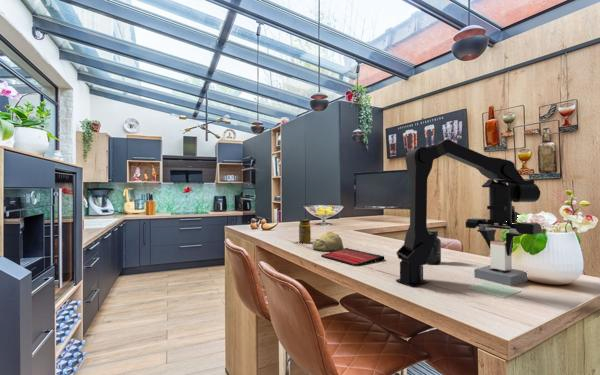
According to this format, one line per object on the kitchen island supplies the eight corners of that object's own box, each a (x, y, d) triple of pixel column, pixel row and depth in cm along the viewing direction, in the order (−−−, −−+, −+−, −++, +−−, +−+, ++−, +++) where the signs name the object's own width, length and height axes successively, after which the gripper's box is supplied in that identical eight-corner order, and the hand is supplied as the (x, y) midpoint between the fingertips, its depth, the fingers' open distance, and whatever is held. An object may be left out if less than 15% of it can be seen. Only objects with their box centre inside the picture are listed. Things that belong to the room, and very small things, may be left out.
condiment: (314, 242, 159) (313, 219, 159) (302, 244, 153) (302, 220, 153) (304, 240, 164) (304, 218, 164) (292, 243, 158) (292, 219, 159)
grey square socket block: (510, 287, 85) (510, 277, 85) (474, 279, 93) (474, 269, 93) (527, 281, 90) (527, 271, 90) (491, 274, 99) (491, 264, 99)
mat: (503, 300, 76) (503, 297, 76) (467, 289, 84) (467, 287, 84) (520, 293, 81) (520, 290, 81) (485, 284, 88) (485, 282, 88)
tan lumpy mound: (344, 247, 146) (344, 230, 146) (342, 252, 134) (341, 234, 134) (315, 246, 149) (315, 230, 149) (310, 251, 137) (310, 233, 137)
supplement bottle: (443, 265, 110) (442, 232, 110) (423, 264, 111) (422, 231, 111) (438, 260, 117) (438, 229, 117) (419, 260, 118) (419, 229, 118)
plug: (505, 270, 89) (504, 243, 89) (490, 267, 92) (490, 241, 93) (511, 268, 91) (511, 241, 91) (497, 265, 95) (497, 240, 95)
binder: (346, 247, 136) (384, 255, 119) (347, 252, 136) (385, 261, 119) (318, 253, 126) (355, 263, 109) (318, 259, 127) (355, 270, 109)
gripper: (549, 202, 88) (550, 256, 88) (483, 200, 104) (483, 246, 104) (531, 204, 82) (532, 262, 82) (464, 201, 98) (464, 250, 98)
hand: (501, 254), depth 92 cm, fingers closed on plug, 4 cm apart
